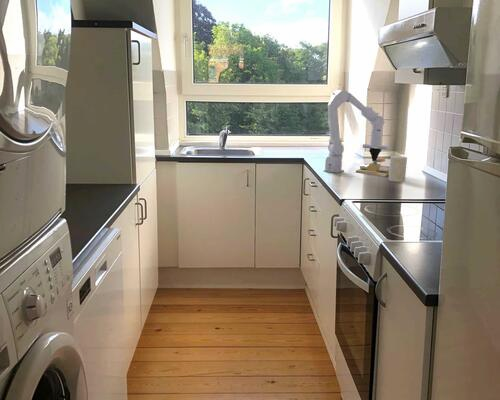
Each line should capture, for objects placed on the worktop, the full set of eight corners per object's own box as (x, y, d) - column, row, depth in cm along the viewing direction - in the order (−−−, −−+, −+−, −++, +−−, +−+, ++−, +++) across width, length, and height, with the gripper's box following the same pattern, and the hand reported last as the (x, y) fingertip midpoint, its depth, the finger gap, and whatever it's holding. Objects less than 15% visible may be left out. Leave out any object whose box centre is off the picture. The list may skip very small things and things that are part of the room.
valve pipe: (386, 174, 299) (387, 166, 299) (359, 170, 309) (359, 162, 308) (389, 173, 303) (390, 165, 302) (362, 169, 312) (362, 162, 311)
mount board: (384, 176, 297) (385, 174, 297) (355, 172, 307) (355, 170, 307) (392, 174, 305) (392, 171, 305) (363, 170, 315) (364, 168, 314)
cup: (393, 182, 281) (395, 158, 278) (385, 179, 289) (387, 156, 286) (408, 181, 283) (410, 158, 281) (399, 178, 291) (401, 155, 288)
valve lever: (375, 164, 303) (376, 160, 303) (372, 163, 304) (372, 160, 304) (385, 162, 313) (385, 158, 312) (381, 161, 314) (381, 158, 314)
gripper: (391, 138, 307) (389, 162, 310) (367, 135, 316) (365, 159, 319) (386, 139, 302) (384, 164, 305) (361, 136, 310) (359, 161, 313)
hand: (374, 161), depth 311 cm, fingers closed
